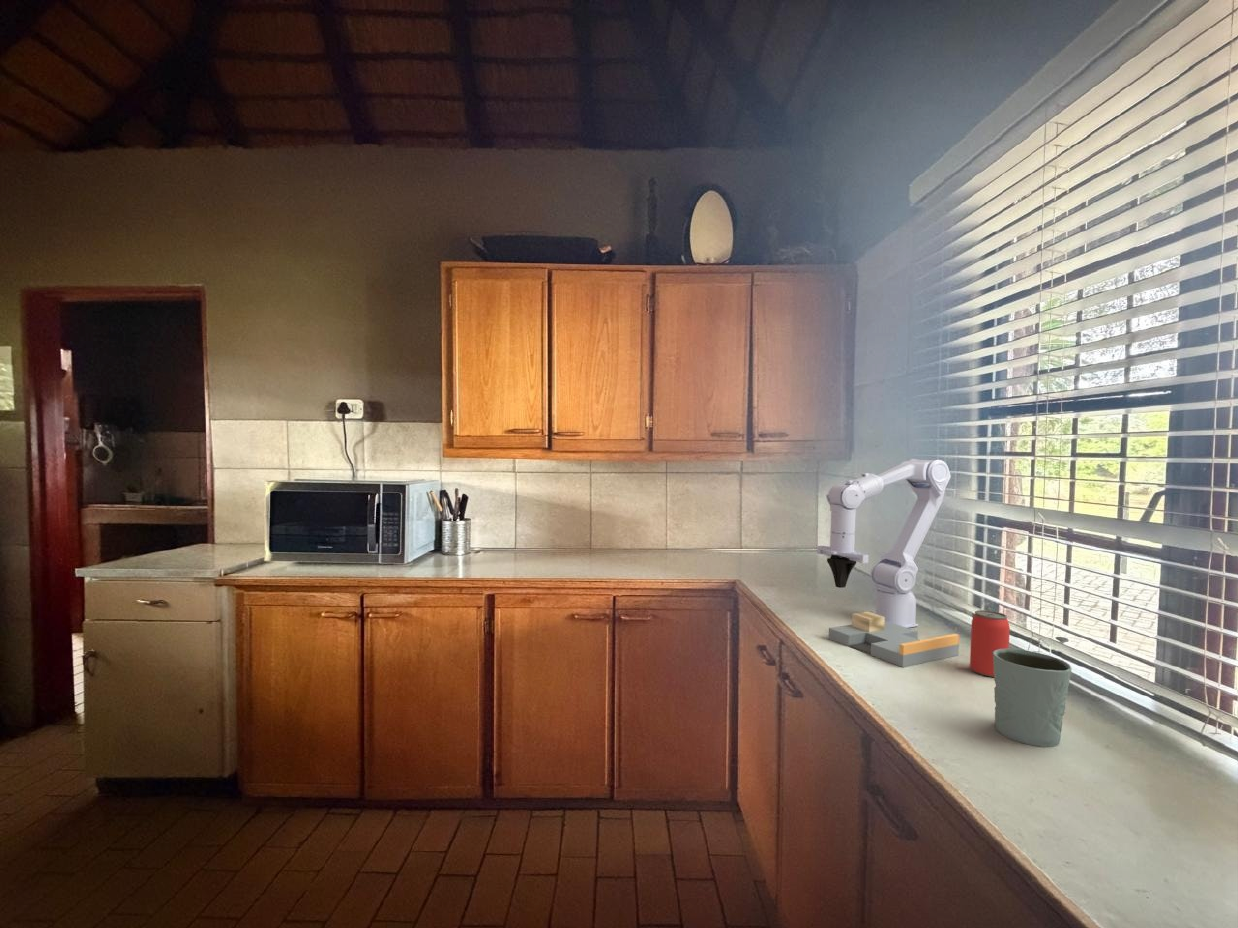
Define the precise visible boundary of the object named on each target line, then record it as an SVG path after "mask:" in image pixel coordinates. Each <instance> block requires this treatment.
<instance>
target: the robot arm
mask: <svg viewBox="0 0 1238 928" xmlns="http://www.w3.org/2000/svg"><path fill="white" fill-rule="evenodd" d="M951 478H952V476H951V473H950V469H949V466H948V464H947V463H946V462H945V461H944V460H941V459H933V460H931V459H930V460H929V459H918V458H917V459H916V458H915V459H914V458H911V459H909V460H907V461H902V462H901V463H900V464H898V465H896V466H894V467H892V468H890V469H888V470H886V471H883V472H882V473H879V474H875V473H871V472H870V473H869V472H863V473H861V476H859V477H857V478H855V479H848V480H846V482H845V483H844V484H842V483H841V484H839V483H838V484H834V485H833V486H831V488H830V489H829V491H828V494H826V500H827V503H828V505H829V507H830V509H829V510H830V537H829V545H817V546H816V553H817V554H819V555H821V554H822V555H826V556H830V557H828V558H826V562H827V564H828V565H829V567H830V570H831V573H832V576H833V580H834V584H835V587H836V588H839V589H840V588H846V586H847V583H848V581H849V576H850V575H851V572H852V571H853V569H854V567H855V566H856V564H857V562H858V563H860V564H869V557H870V556H869V554H865V553H862V552H859V551H856V550H855V541H856V540H855V539H856V538H855V537H856V516H857V508H858V507H859V506H861V503H862V502H864V501H867V500H869V499H872V498H874V497H876V496H878V495H880V494H881V493H882V491H883V489H884V488H885V487H888V486H891V485H894V484H897V483H900V482H903V481H906V482H907V483H908V485H909V486H910V488H911V490H912V491H913V493H914V494H916V497H917V499H916V501H915V503H914V505H913V507H912V509H911V511H910V513H909V515H908V517H907V519H906V521H905V523H904V525H903V527H902V529H901V531H900V533H899V535H898V537H897V538H896V541H895V543H894V545H893V546H892V549H891V550H889V551H888V552H885V553H883V554H882V555H880V556H881V557H880V558H879V560H878V561H877V562H875V563H874V564H873V565H872V568H871V570H870V577H871V580H872V582H873V583H874V584H875V585H874V587H875V588H876V604H875V605H876V606H875V608H876V610H875V614H877V615H880V616H883V617H885V620H884V621H887V622H890V623H893V624H897V625H900V626H903V627H906V628H909V629H911V628H914V627H918V626H919V624H918V623H916V619H917V617H916V616H917V615H916V614H917V613H916V612H917V600H916V599H917V598H916V596H915V594H914V593H913V591H912V589H913V588H914V586H915V585H916V577H917V572H918V571H919V568H918V566H917V564H916V563H915V561H914V559H915V558H916V555H917V553H918V551H919V549H920V547H921V545H922V543H923V541H924V539H925V538H926V535H927V533H929V530H930V527H931V526H932V523H933V521H934V519H935V517H936V515H937V514H938V511H939V509H940V507H941V505H942V503H943V501H944V496H945V489H946V487H947V486H948V483H949V481H950V479H951Z"/></svg>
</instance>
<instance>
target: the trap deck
mask: <svg viewBox="0 0 1238 928" xmlns="http://www.w3.org/2000/svg"><path fill="white" fill-rule="evenodd" d="M918 632H919V631H918V630H915V629H911V628H906V627H903V626H900V625H897V624H893V623H890V622H887V621H884V630H879V631H873V632H867V631H865V630H862V629H859V628H856V627H853V626H852V624H848V625H840V626H834V627H828V639H829V640H831V641H834V642H837V643H838V644H842V645H844V646H846V647H850V648H852V649H855V650H857V651H860V652H863V653H864V654H867V655H870V656H873V657H874V658H878V659H880V658H881V660H883V661H886V662H887V663H891V664H893V665H897V666H898V667H901V668H906V667H911V666H915V665H920V664H921V665H922V664H924V663H925V664H926V663H930V662H935V661H938V660H942V659H943V660H944V659H949V658H953V657H958V656H959V651H960V650H959V649H960V648H959V647H960V644H959V643H960V634H958V633H952V634H947V635H946V634H945V635H940V636H936V637H930V638H926V639H925V638H924V639H918V638H919V637H918V636H919V635H918V634H919V633H918Z"/></svg>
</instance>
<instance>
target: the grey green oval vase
mask: <svg viewBox="0 0 1238 928" xmlns="http://www.w3.org/2000/svg"><path fill="white" fill-rule="evenodd" d="M993 663H994V677H993V678H994V684H995V687H994V688H993V689H994V703H995V707H994V711H995V712H994V726H995V729H996V730H997V732H999V734H1001V735H1003V736H1004V737H1006V738H1008V739H1011V740H1013V741H1016V742H1017V743H1021V744H1025V745H1028V746H1035V747H1043V748H1053V747H1055V746H1058V745H1059V744H1060V742H1061V740H1062V739H1061V737H1062V731H1063V717H1064V715H1065V713H1066V712H1065V710H1066V702H1067V696H1068V692H1069V689H1068V688H1069V684H1070V680H1071V675H1072V669H1073V668H1072V666H1071V664H1070V663H1068V662H1066V661H1065V660H1062V659H1061V658H1060V659H1059V658H1057V657H1054V656H1051V655H1048V654H1045V653H1040V652H1035V651H1030V650H1024V649H1018V648H1009V649H998V650H995V651H994V652H993Z"/></svg>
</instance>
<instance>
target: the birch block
mask: <svg viewBox="0 0 1238 928" xmlns="http://www.w3.org/2000/svg"><path fill="white" fill-rule="evenodd" d="M851 616H852V617H851V625H852V626H853V627H856V628H859V629H862V630H865V631H867V632H873V631H879V630H884V620H885V617H883V616H880V615H877V614H876V613H873V612H870V611H861V612H855V613H852V615H851Z"/></svg>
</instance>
